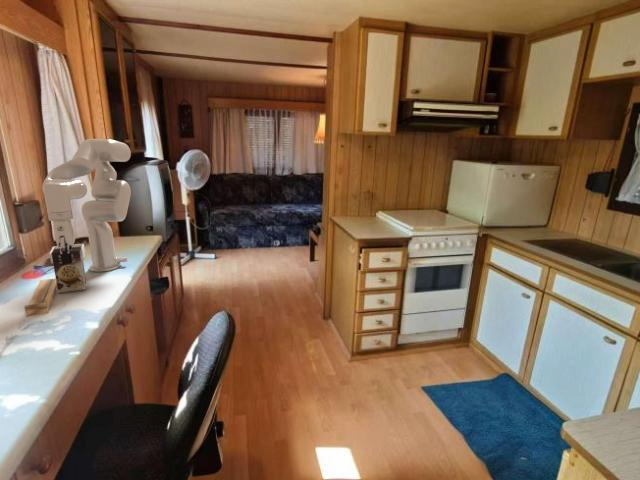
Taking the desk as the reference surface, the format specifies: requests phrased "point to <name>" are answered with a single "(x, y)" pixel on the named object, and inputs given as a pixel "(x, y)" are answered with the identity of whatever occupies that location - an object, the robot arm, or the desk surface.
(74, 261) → the coffee box
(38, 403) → the desk surface
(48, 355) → the desk surface
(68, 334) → the desk surface
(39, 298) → the oak board
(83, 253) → the parts corral
